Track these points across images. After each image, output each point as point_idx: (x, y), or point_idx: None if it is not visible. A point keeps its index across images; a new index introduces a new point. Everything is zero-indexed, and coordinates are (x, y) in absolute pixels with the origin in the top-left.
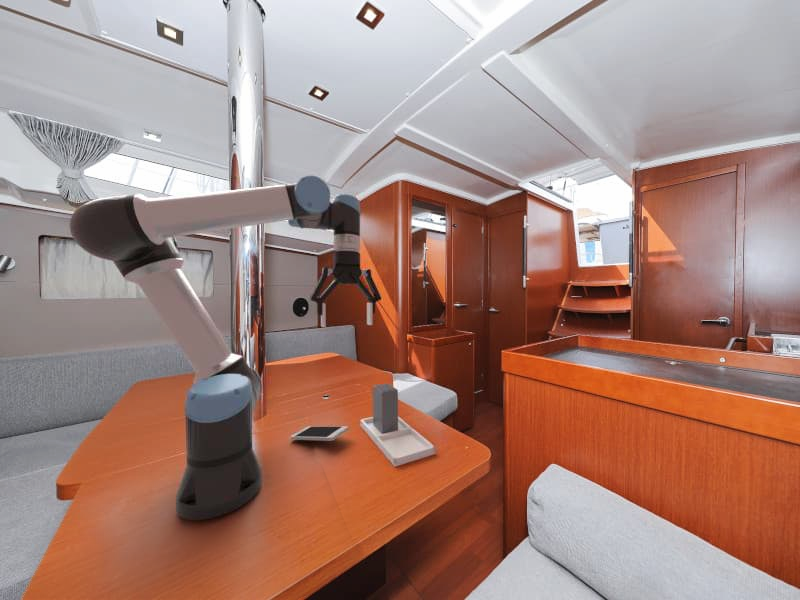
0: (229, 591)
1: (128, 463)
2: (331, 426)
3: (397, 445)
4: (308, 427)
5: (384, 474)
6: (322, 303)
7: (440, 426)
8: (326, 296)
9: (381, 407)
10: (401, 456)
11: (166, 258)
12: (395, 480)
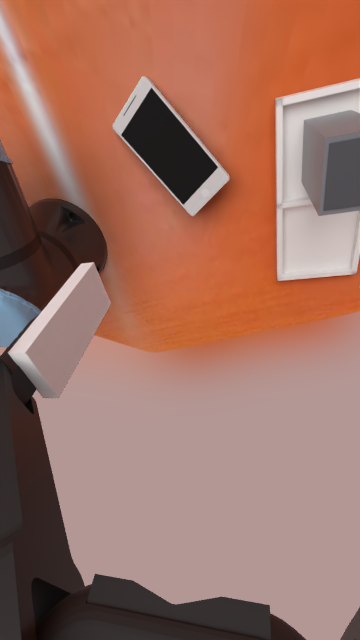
0: (126, 344)
1: None
2: (196, 140)
3: (307, 232)
4: (145, 90)
5: (256, 283)
6: (37, 389)
7: None
8: (39, 440)
9: (311, 196)
10: (289, 278)
11: None
12: (264, 297)
